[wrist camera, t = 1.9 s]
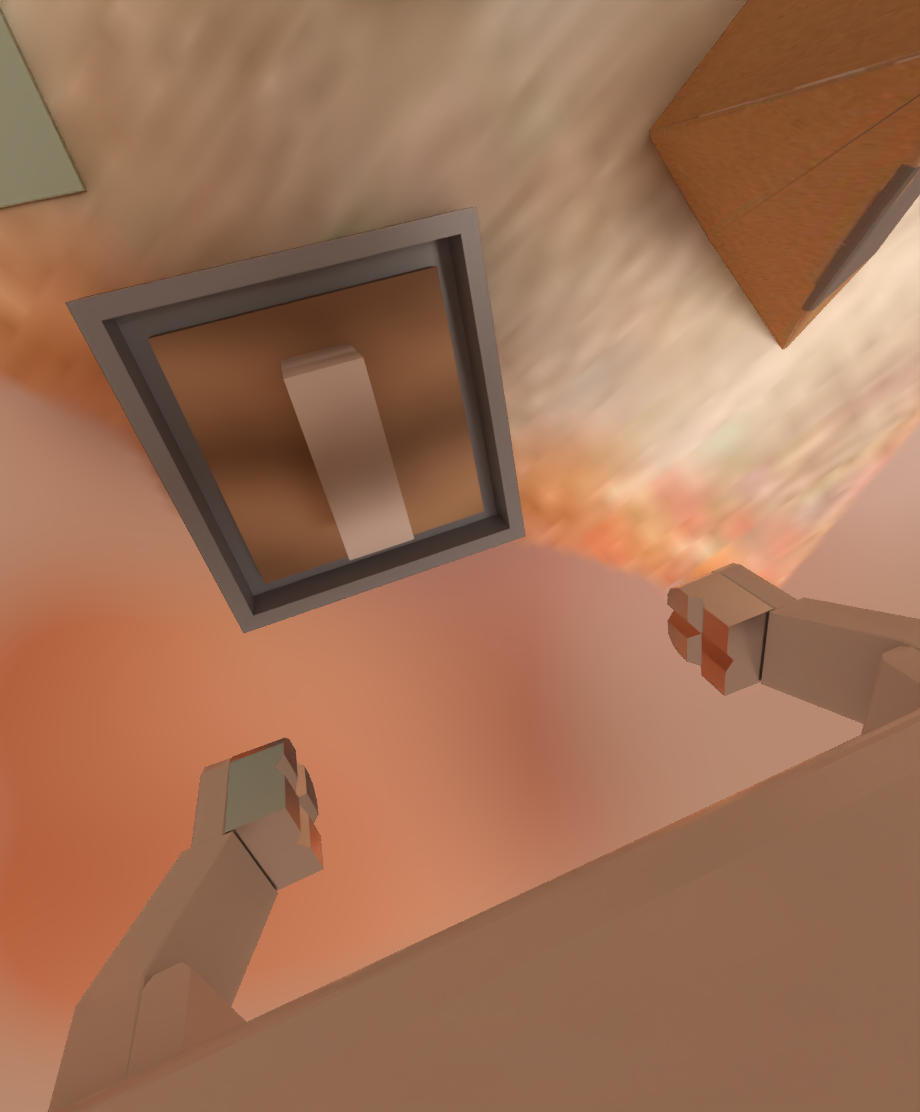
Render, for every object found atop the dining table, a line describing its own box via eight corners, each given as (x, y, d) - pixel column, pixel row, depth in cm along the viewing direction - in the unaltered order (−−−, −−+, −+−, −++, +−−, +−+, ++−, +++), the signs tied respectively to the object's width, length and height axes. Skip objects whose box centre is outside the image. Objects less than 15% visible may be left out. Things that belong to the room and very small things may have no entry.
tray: (84, 297, 21) (65, 302, 19) (457, 210, 24) (475, 206, 22) (244, 606, 30) (243, 633, 27) (508, 517, 32) (525, 536, 30)
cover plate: (151, 335, 22) (126, 355, 18) (430, 265, 24) (466, 269, 20) (265, 574, 28) (265, 629, 24) (478, 504, 30) (512, 544, 26)
